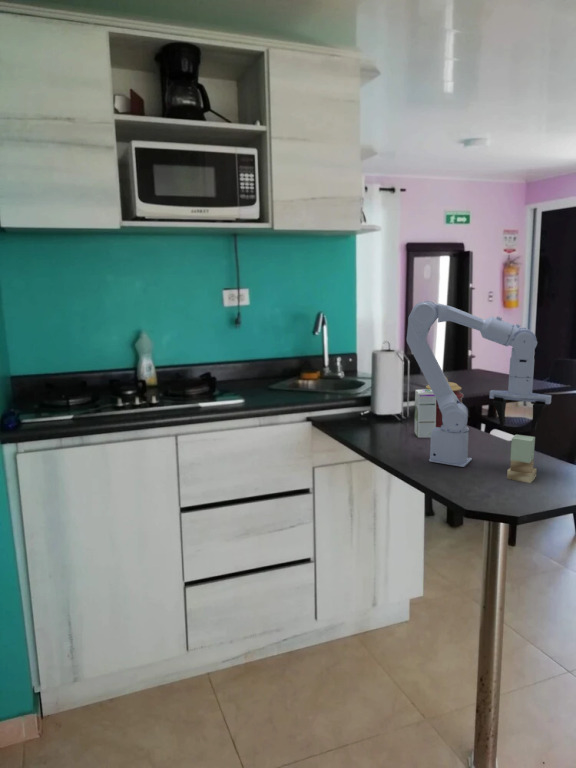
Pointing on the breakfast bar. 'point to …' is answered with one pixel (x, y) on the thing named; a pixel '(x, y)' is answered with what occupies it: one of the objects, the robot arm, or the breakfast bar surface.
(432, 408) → the syrup box
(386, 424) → the breakfast bar surface
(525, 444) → the block
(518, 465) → the slab top
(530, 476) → the slab bottom
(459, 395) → the canister
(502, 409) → the robot arm
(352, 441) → the breakfast bar surface
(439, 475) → the breakfast bar surface
